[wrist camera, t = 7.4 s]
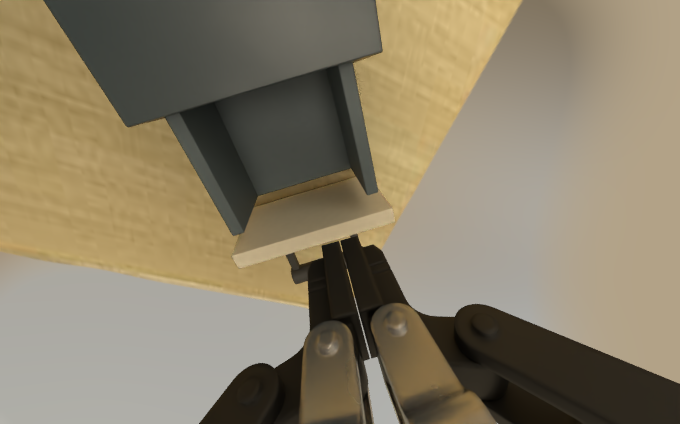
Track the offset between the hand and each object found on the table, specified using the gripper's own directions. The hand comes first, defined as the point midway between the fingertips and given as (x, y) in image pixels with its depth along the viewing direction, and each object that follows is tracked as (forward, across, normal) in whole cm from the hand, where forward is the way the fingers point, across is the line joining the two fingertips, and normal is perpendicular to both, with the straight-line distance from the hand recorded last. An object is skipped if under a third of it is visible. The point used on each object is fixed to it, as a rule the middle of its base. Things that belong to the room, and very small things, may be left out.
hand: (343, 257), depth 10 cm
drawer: (+13, +2, -1) cm, 14 cm away
